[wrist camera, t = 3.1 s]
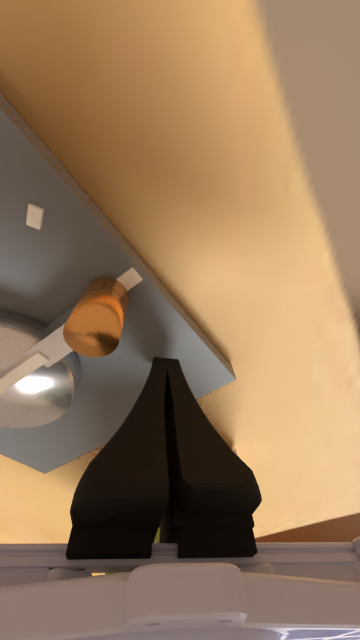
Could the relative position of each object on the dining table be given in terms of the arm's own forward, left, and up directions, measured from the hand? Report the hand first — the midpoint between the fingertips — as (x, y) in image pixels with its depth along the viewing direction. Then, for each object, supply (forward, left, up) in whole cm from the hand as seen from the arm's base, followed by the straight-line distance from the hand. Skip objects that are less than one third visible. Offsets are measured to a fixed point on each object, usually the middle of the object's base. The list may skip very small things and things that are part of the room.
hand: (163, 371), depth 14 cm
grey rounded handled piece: (-4, +5, -1) cm, 7 cm away
